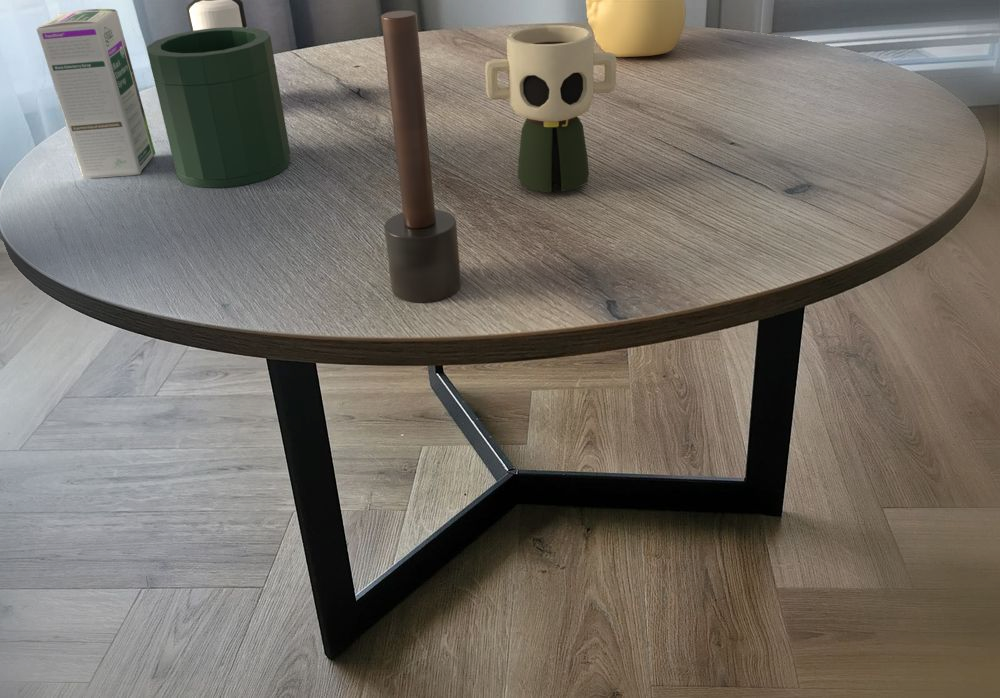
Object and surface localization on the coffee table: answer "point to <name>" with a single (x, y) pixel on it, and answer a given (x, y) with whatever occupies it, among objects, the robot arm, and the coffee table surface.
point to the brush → (415, 178)
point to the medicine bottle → (215, 14)
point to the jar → (221, 105)
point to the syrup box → (97, 92)
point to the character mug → (551, 100)
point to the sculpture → (636, 25)
